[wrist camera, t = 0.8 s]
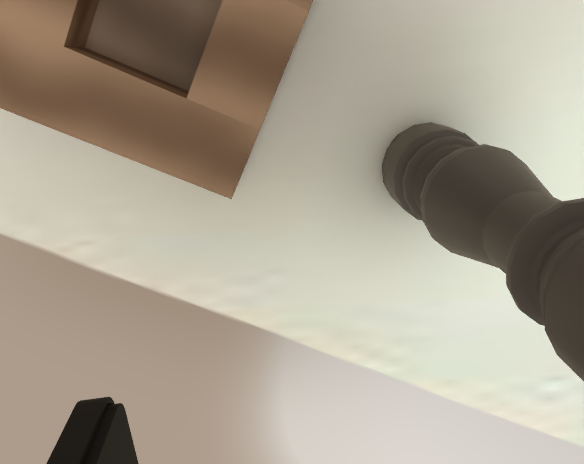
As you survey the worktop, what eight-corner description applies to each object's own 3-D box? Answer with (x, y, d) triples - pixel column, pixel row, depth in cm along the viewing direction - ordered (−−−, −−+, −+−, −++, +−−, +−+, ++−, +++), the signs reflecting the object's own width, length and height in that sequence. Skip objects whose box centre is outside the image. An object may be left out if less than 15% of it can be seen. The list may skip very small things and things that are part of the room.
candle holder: (366, 188, 39) (548, 403, 15) (408, 107, 37) (686, 204, 14) (440, 223, 40) (718, 471, 16) (484, 145, 38) (862, 296, 15)
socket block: (71, -186, 31) (39, -229, 26) (330, -56, 34) (343, -73, 29) (-2, 86, 35) (-42, 91, 30) (233, 180, 38) (231, 199, 33)
